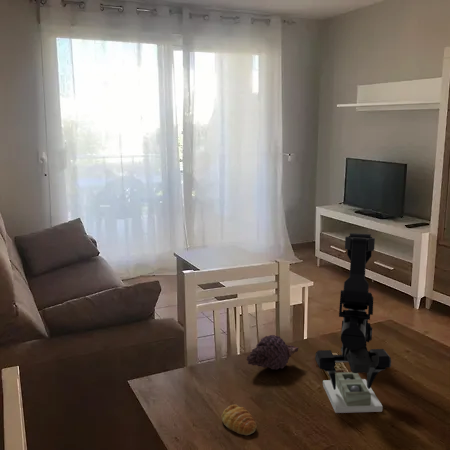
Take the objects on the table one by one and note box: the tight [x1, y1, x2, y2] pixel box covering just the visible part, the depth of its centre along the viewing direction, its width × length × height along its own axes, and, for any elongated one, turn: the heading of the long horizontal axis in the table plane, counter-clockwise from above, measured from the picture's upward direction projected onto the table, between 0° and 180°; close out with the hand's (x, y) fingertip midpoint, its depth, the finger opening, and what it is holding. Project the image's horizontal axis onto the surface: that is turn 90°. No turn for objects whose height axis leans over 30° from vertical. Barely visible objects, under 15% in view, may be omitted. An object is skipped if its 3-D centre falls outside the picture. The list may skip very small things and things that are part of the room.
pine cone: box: [246, 334, 300, 370], centre depth 154 cm, size 18×10×10 cm, turn 120°
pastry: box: [220, 404, 258, 436], centre depth 126 cm, size 9×7×4 cm
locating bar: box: [335, 371, 371, 406], centre depth 137 cm, size 12×6×3 cm, turn 3°
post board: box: [322, 378, 384, 414], centre depth 138 cm, size 14×12×5 cm
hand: (351, 388), depth 138 cm, fingers open, 9 cm apart
